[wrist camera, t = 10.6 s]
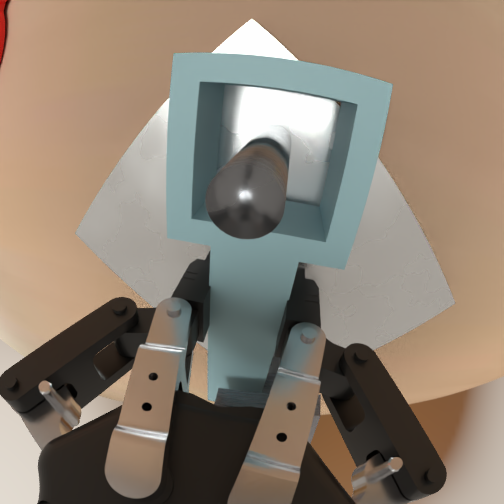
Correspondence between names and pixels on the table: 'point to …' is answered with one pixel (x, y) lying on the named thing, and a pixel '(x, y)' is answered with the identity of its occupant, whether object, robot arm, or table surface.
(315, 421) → the block
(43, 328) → the table surface
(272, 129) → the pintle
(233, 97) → the board
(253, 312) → the link
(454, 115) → the table surface
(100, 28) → the table surface
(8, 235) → the table surface
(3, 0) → the tow hook
